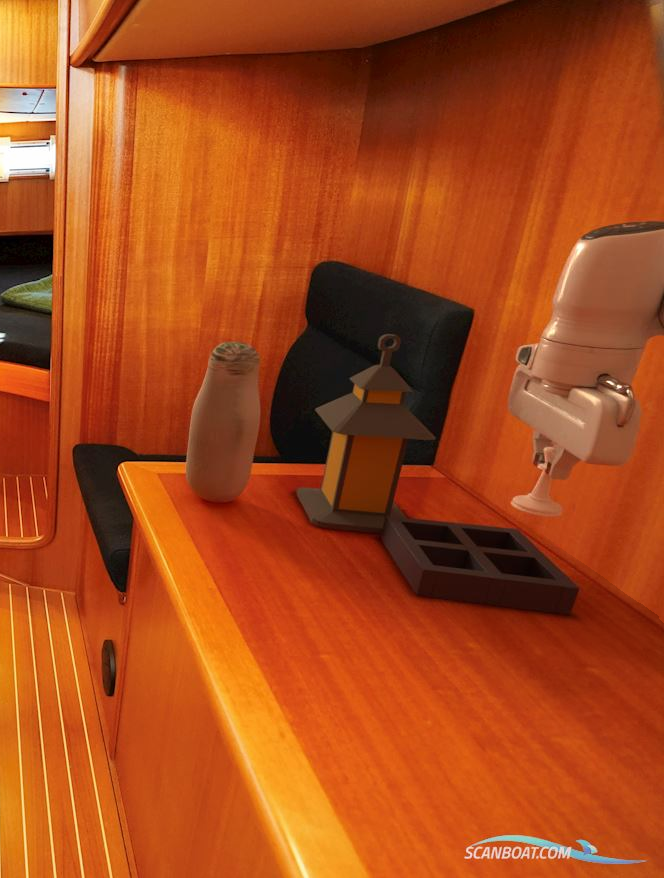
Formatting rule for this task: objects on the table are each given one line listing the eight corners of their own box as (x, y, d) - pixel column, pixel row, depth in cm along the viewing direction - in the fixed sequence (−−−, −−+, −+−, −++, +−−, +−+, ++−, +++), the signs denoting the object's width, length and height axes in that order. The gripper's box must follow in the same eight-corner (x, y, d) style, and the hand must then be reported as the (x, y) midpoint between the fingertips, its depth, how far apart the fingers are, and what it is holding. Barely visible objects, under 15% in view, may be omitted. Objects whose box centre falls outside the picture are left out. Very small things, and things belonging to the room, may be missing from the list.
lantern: (416, 537, 108) (466, 347, 97) (313, 526, 112) (351, 343, 102) (386, 499, 120) (428, 327, 110) (294, 491, 125) (326, 324, 114)
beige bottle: (170, 491, 126) (189, 339, 117) (219, 484, 129) (240, 333, 119) (207, 514, 117) (230, 351, 108) (258, 506, 120) (286, 345, 110)
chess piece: (501, 504, 91) (524, 431, 87) (525, 497, 92) (548, 426, 89) (546, 520, 86) (572, 444, 83) (571, 512, 88) (597, 438, 84)
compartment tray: (510, 553, 103) (517, 528, 101) (570, 615, 88) (580, 588, 87) (379, 538, 108) (385, 515, 106) (416, 595, 93) (423, 569, 92)
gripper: (677, 390, 73) (631, 510, 77) (571, 347, 91) (539, 446, 95) (600, 386, 75) (560, 503, 79) (511, 345, 93) (483, 442, 97)
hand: (548, 472), depth 88 cm, fingers closed on chess piece
